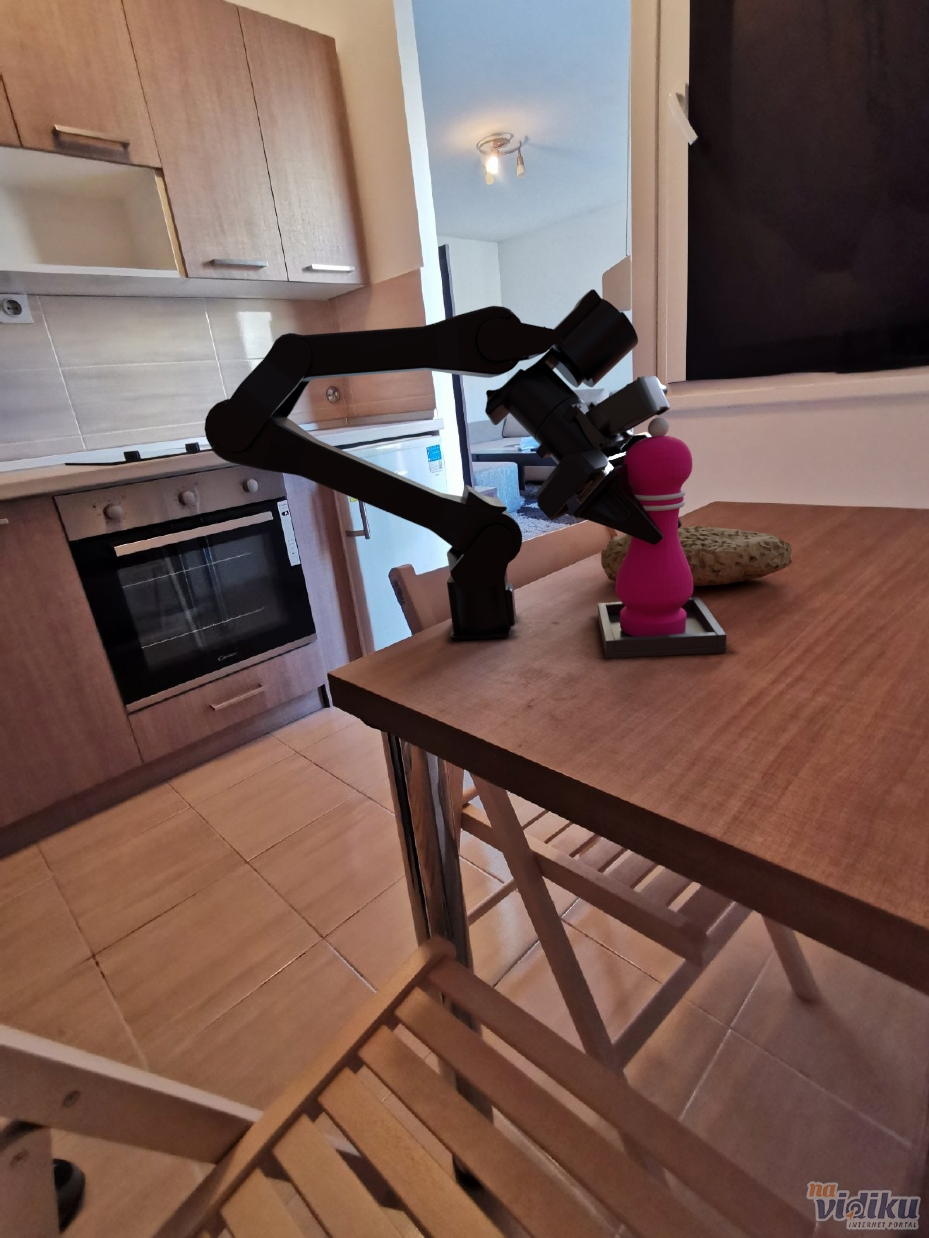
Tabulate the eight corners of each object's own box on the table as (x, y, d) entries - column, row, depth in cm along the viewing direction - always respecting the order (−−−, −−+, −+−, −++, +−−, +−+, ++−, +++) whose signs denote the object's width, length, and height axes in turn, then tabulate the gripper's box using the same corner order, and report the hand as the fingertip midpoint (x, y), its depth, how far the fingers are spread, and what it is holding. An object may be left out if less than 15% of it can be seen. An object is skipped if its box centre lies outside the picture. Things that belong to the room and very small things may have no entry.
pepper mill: (698, 620, 60) (710, 412, 53) (681, 646, 54) (692, 417, 47) (627, 612, 63) (630, 417, 57) (604, 636, 58) (605, 422, 51)
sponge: (598, 600, 74) (771, 584, 60) (590, 538, 73) (762, 507, 60) (645, 588, 83) (803, 571, 70) (638, 533, 83) (795, 506, 69)
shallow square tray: (606, 658, 55) (605, 640, 54) (598, 618, 65) (597, 603, 64) (726, 652, 53) (726, 634, 53) (699, 612, 63) (699, 596, 62)
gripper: (560, 347, 45) (704, 490, 43) (649, 347, 59) (763, 456, 56) (487, 456, 53) (605, 584, 50) (581, 434, 66) (678, 534, 64)
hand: (669, 534), depth 55 cm, fingers closed on pepper mill, 5 cm apart
